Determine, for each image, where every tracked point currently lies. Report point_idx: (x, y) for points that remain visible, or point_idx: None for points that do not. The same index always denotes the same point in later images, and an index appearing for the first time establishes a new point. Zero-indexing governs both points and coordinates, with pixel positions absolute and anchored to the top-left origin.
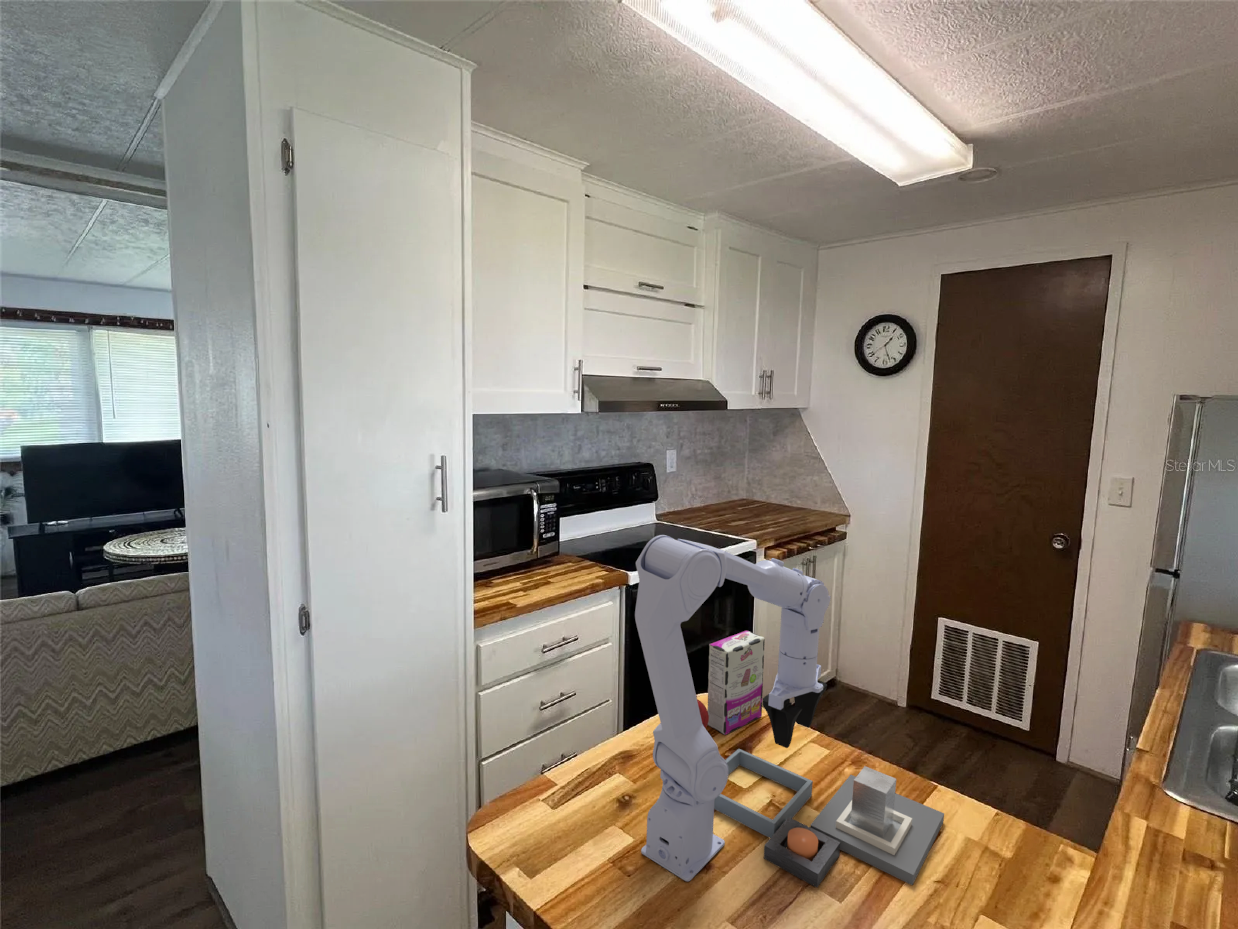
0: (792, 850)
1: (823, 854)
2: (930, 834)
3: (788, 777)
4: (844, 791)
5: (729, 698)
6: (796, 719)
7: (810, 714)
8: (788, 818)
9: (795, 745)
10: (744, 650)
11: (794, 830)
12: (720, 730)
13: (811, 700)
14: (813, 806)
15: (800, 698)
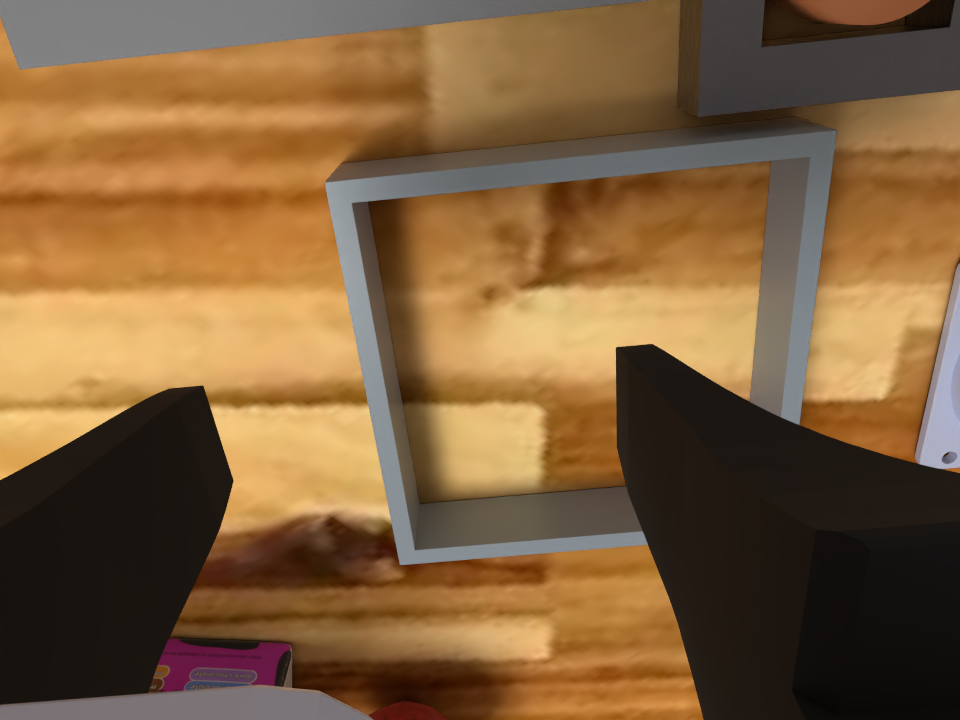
0: None
1: None
2: None
3: (375, 302)
4: (203, 10)
5: None
6: (732, 467)
7: (137, 457)
8: (711, 111)
9: (54, 430)
10: None
11: (854, 3)
12: (291, 670)
13: (39, 580)
14: (409, 110)
15: (108, 670)
